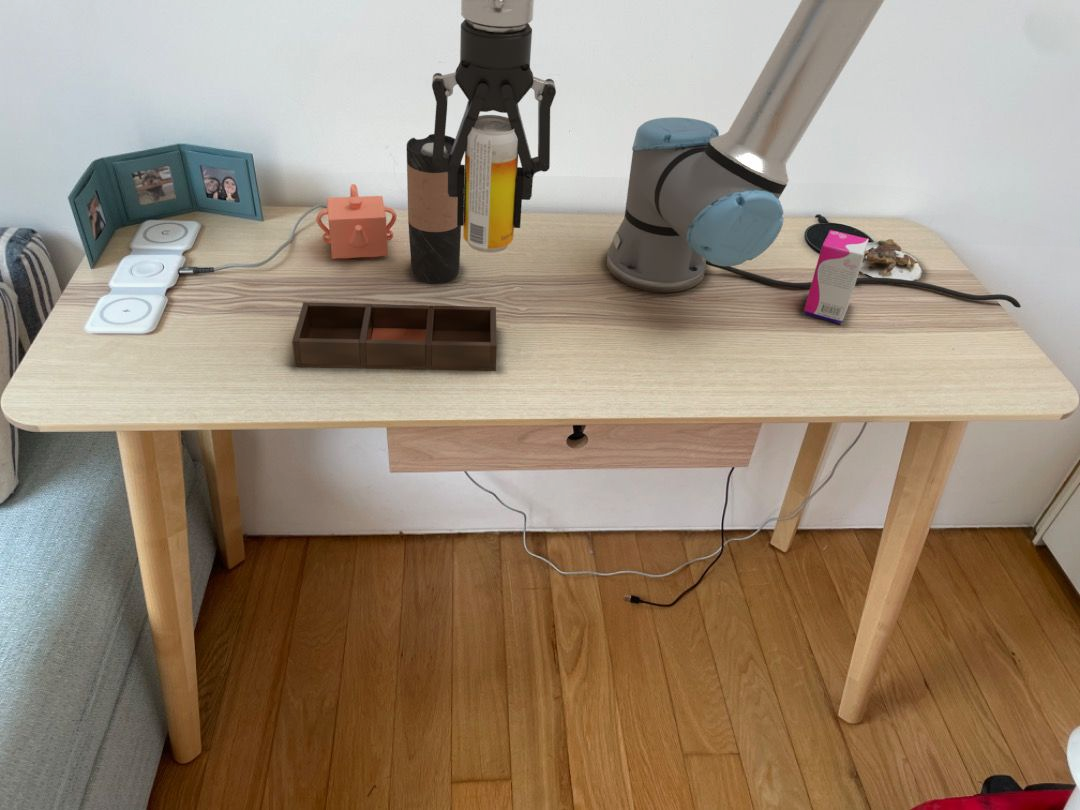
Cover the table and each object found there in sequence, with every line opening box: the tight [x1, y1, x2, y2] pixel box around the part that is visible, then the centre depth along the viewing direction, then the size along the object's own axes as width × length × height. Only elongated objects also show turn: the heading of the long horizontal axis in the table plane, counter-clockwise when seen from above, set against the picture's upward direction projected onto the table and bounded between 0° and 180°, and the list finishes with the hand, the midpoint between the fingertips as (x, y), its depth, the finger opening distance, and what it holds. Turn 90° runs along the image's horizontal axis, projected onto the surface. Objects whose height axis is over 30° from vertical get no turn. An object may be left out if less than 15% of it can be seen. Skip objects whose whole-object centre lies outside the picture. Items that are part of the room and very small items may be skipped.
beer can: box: [462, 114, 519, 254], centre depth 106 cm, size 6×6×15 cm
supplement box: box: [803, 229, 870, 325], centre depth 131 cm, size 6×6×12 cm
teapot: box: [315, 183, 397, 260], centre depth 137 cm, size 12×15×8 cm
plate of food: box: [859, 238, 923, 281], centre depth 145 cm, size 12×12×4 cm
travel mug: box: [406, 133, 462, 285], centre depth 130 cm, size 8×8×20 cm
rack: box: [291, 301, 498, 372], centre depth 119 cm, size 26×9×4 cm, turn 93°
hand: (488, 221), depth 109 cm, fingers closed on beer can, 6 cm apart
